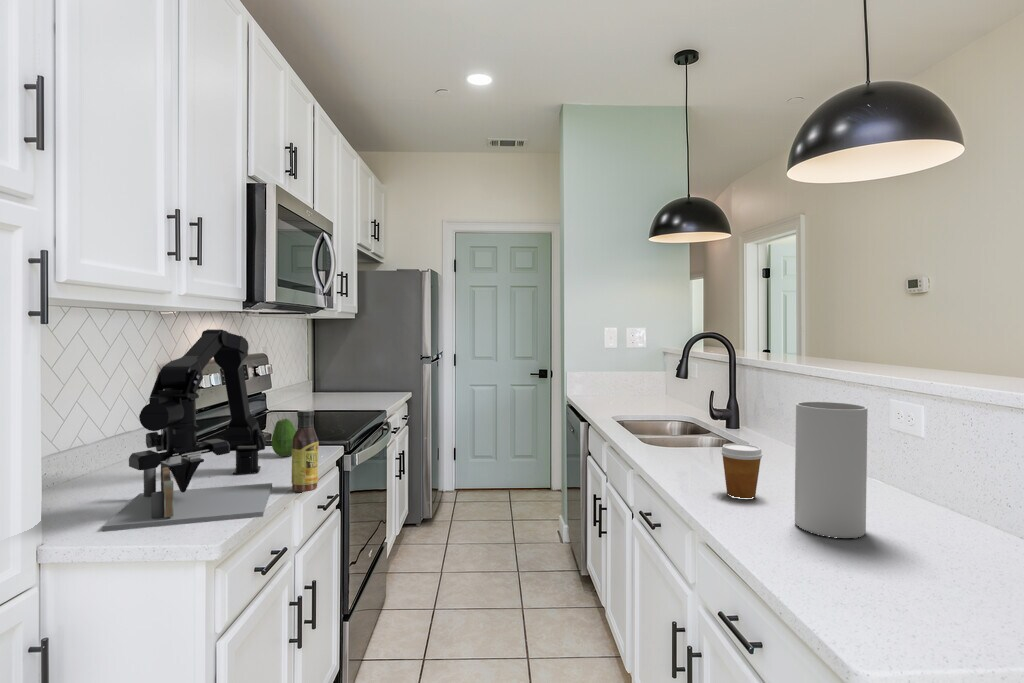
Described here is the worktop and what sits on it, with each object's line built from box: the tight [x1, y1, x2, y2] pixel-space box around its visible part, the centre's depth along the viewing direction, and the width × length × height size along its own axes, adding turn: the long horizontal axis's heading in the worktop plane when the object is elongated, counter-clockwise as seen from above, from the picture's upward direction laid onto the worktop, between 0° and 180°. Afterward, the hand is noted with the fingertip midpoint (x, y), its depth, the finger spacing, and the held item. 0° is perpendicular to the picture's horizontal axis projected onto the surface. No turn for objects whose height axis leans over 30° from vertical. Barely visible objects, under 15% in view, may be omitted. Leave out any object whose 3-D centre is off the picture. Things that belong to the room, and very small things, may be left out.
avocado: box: [270, 418, 297, 457], centre depth 177 cm, size 8×8×12 cm
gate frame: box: [102, 468, 273, 532], centre depth 127 cm, size 24×29×10 cm
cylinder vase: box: [794, 401, 869, 539], centre depth 113 cm, size 12×12×25 cm
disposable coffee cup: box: [720, 443, 764, 498], centre depth 136 cm, size 10×10×12 cm
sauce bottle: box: [291, 409, 320, 493], centre depth 140 cm, size 7×6×20 cm
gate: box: [160, 464, 174, 518], centre depth 124 cm, size 22×2×7 cm, turn 33°
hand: (182, 492), depth 124 cm, fingers closed
